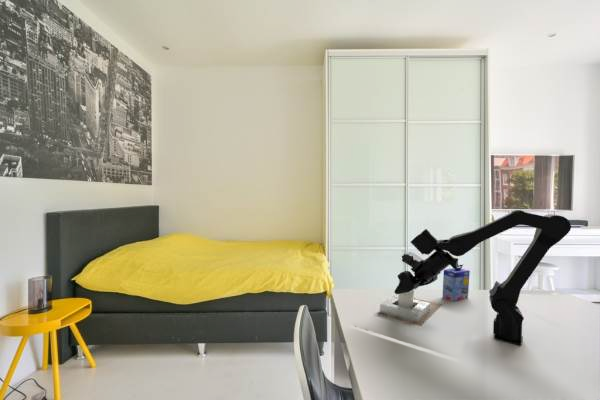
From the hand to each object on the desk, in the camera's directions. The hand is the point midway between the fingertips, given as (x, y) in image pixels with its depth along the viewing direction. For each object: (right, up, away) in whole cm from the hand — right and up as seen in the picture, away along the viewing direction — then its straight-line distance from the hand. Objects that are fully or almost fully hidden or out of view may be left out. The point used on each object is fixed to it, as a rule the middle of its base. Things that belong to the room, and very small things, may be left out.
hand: (401, 290), depth 109 cm
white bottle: (+1, -7, -1) cm, 7 cm away
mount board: (+4, -8, +2) cm, 9 cm away
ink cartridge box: (+27, -9, +15) cm, 32 cm away
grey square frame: (+1, -7, -1) cm, 7 cm away
